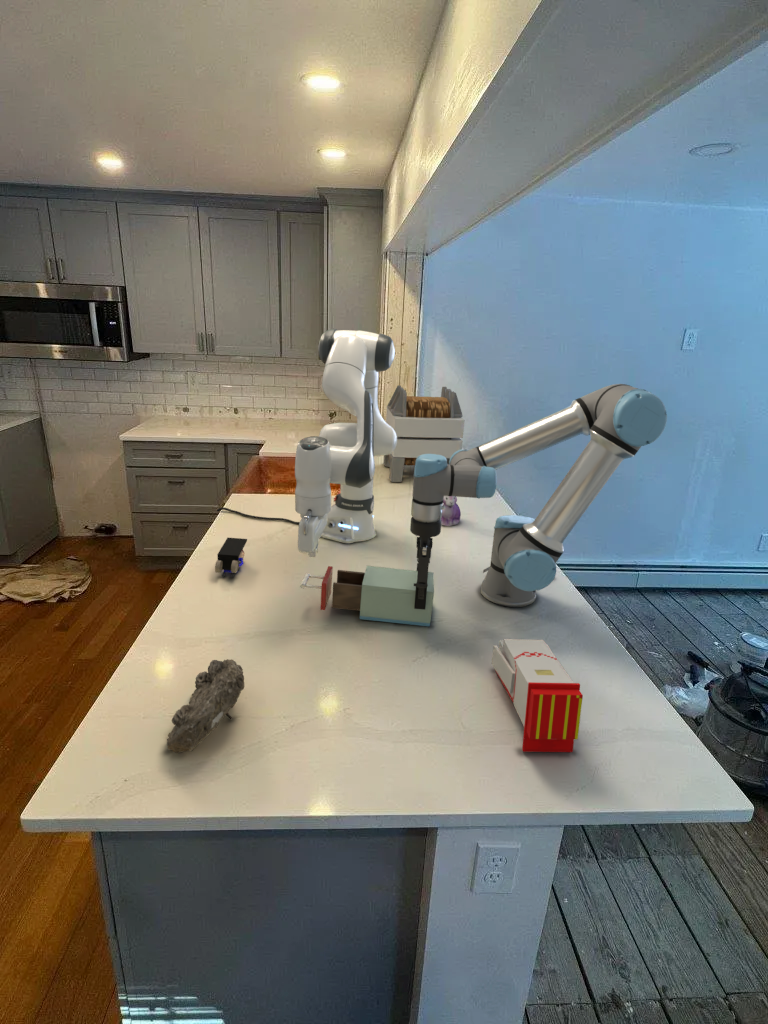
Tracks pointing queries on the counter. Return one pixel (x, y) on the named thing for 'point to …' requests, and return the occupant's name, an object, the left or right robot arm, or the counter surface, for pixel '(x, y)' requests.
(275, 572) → the counter surface
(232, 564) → the figurine character
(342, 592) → the drawer
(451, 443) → the transformer
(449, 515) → the figurine
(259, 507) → the counter surface
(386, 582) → the cabinet
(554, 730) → the toy
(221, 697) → the fossil
